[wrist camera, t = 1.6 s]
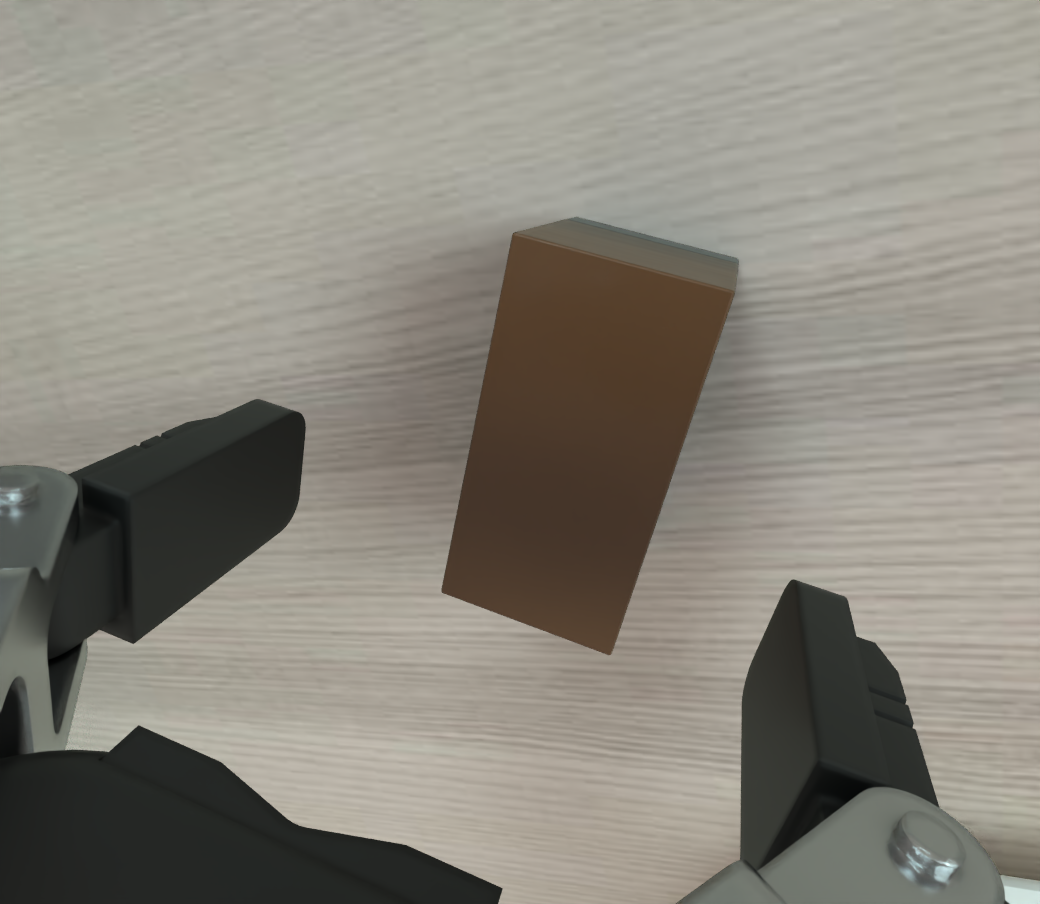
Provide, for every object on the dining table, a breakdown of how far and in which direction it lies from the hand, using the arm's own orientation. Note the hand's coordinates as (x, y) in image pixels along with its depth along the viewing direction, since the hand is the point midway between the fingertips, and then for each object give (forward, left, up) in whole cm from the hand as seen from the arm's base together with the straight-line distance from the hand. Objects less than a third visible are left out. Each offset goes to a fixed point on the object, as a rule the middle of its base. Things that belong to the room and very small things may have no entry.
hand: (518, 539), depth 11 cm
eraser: (0, 0, -8) cm, 8 cm away
